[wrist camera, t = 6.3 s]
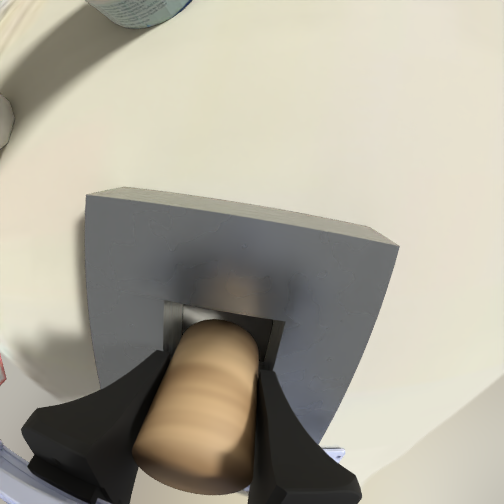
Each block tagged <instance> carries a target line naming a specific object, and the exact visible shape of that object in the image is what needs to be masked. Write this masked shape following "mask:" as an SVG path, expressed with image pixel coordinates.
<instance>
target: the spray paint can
mask: <svg viewBox="0 0 504 504" xmlns="http://www.w3.org/2000/svg"><path fill="white" fill-rule="evenodd" d="M85 1H87V2H88V3H89V4H91V5H92V6H93V7H95V8H96V9H97V10H98V11H100V12H101V13H102V14H104V15H105V16H106V17H107V18H109V19H110V20H111V21H112V22H114V23H115V24H118V25H120V26H123V27H125V28H133V29H139V28H147V27H151V26H154V25H157V24H160V23H162V22H164V21H166V20H168V19H170V18H172V17H174V16H175V15H177V14H178V13H179V12H181V11H182V10H184V9H185V7H186V6H187V5H188V4H189V3H190V2H191V1H192V0H85Z"/></svg>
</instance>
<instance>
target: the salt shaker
mask: <svg viewBox="0 0 504 504" xmlns="http://www.w3.org/2000/svg"><path fill="white" fill-rule="evenodd" d="M14 120H15V118H14V115H13V111H12V107H11V103H10V102H9V101H8V100H7V99H6V98H5V97H4V96H3V95H2V94H0V149H1V148H2V147H3V146H5V145H6V144H7V143H8V142H9V138H10V134H11V130H12V127H13V123H14Z"/></svg>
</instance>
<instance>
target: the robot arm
mask: <svg viewBox="0 0 504 504" xmlns="http://www.w3.org/2000/svg"><path fill="white" fill-rule="evenodd" d="M169 364H170V353H169V352H165V351H161V350H156V351H154V352H153V353H152V354H151V355H150V356H149V357H147V358H146V359H145V360H144V361H143V362H141V363H140V364H139V365H138V366H136V367H135V368H134V369H132V370H131V371H130V372H128V373H127V374H126V375H124V376H123V377H121V378H120V379H118V380H116V381H115V382H113V383H112V384H110V385H108V386H107V387H105V388H103V389H101V390H99V391H97V392H95V393H93V394H90V395H88V396H85V397H83V398H80V399H77V400H74V401H71V402H67V403H64V404H60V405H55V406H49V407H43V408H37V409H36V410H35V411H34V412H33V413H32V415H31V416H30V417H29V419H28V420H27V422H26V423H25V424H24V426H23V427H22V429H21V431H22V435H23V437H24V439H25V441H26V442H27V444H28V445H29V447H30V449H31V450H32V452H33V453H34V456H33V458H32V459H31V461H30V463H29V462H28V461H26V460H25V459H23V458H22V457H20V456H19V455H17V454H16V453H14V452H13V451H11V450H10V449H8V448H7V447H6V446H4V445H3V443H2V441H1V439H0V498H1V499H3V500H4V501H5V502H6V503H8V504H129V503H130V499H131V494H132V490H133V486H134V482H135V478H136V474H137V471H138V467H139V466H138V465H137V464H136V462H135V461H134V459H133V456H132V448H133V445H134V443H135V441H136V438H137V436H138V434H139V431H140V429H141V427H142V424H143V422H144V420H145V418H146V415H147V413H148V411H149V408H150V406H151V404H152V402H153V399H154V397H155V395H156V393H157V390H158V388H159V386H160V384H161V381H162V379H163V377H164V375H165V372H166V370H167V368H168V366H169ZM344 455H345V450H344V449H322V448H321V447H320V446H319V445H318V444H317V443H316V442H315V441H314V440H313V438H312V437H311V436H310V435H309V434H308V432H307V431H306V430H305V428H304V427H303V426H302V424H301V423H300V421H299V420H298V418H297V417H296V415H295V413H294V412H293V410H292V408H291V406H290V405H289V403H288V401H287V399H286V397H285V395H284V393H283V390H282V388H281V386H280V383H279V381H278V378H277V375H276V373H275V372H274V371H268V370H261V369H260V374H259V378H258V387H257V411H256V432H255V451H254V470H253V480H252V482H251V484H250V485H249V486H248V487H246V488H245V489H243V490H244V491H249V497H248V504H358V502H359V501H360V500H361V498H362V493H361V489H360V486H359V483H358V480H357V478H356V475H354V474H353V473H351V472H350V471H348V470H347V469H346V468H344V467H343V466H341V465H340V464H339V462H340V460H341V459H342V457H343V456H344Z"/></svg>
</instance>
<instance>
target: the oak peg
mask: <svg viewBox="0 0 504 504" xmlns="http://www.w3.org/2000/svg"><path fill="white" fill-rule="evenodd" d="M258 366H259V350H258V346H257V344H256V342H255V340H254V338H253V337H252V336H251V335H250V334H249V332H247V331H246V330H245V329H244V328H242V327H241V326H239V325H237V324H235V323H232V322H229V321H225V320H219V319H210V320H203V321H200V322H197V323H195V324H193V325H192V326H190V327H189V328H188V329H187V330H186V331H185V332H184V334H183V336H182V338H181V340H180V342H179V344H178V346H177V348H176V351H175V353H174V355H173V357H172V359H171V361H170V364H169V366H168V368H167V370H166V372H165V375H164V377H163V379H162V381H161V384H160V386H159V388H158V390H157V393H156V395H155V397H154V399H153V402H152V404H151V406H150V408H149V411H148V413H147V415H146V418H145V420H144V422H143V424H142V427H141V429H140V431H139V434H138V436H137V438H136V441H135V443H134V445H133V448H132V456H133V459H134V461H135V462H136V464H137V465H138V466H139V467H140V468H141V469H142V470H143V471H144V472H145V473H146V474H148V475H149V476H151V477H152V478H154V479H155V480H157V481H159V482H161V483H163V484H165V485H167V486H170V487H173V488H175V489H178V490H182V491H185V492H190V493H195V494H204V495H224V494H230V493H235V492H238V491H241V490H243V489H245V488H246V487H248V486H249V485H250V484H251V482H252V480H253V470H254V451H255V432H256V411H257V387H258Z"/></svg>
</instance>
